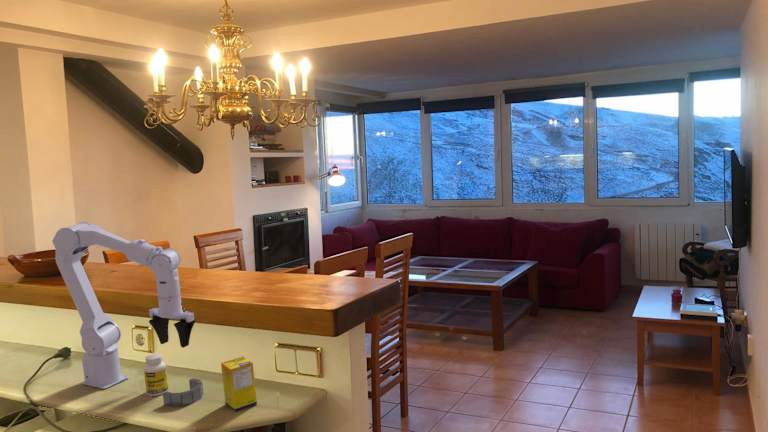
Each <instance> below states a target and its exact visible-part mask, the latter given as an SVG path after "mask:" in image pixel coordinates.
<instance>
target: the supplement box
mask: <svg viewBox="0 0 768 432" xmlns="http://www.w3.org/2000/svg"><path fill="white" fill-rule="evenodd" d="M220 366H221V377H222V383H223V384H222V385H223V386H222V387H223V394H224V402H225V406H227V407H228V408H229V409H231V410H232V411H233V412H234V413H236V412H239V411H242V410H244V409H247V408H250V407H253V406H256V405H257V404H258V403H257V402H258V399H257V392H256V390H257V389H256V381H255V373H254V371H255V370H254V363H253V362H252V361H251V360H249V359H248V358H246V357H245V356H240V357H236V358H233V359H230V360H225V361H222V362H220Z"/></svg>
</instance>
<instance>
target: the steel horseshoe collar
mask: <svg viewBox="0 0 768 432" xmlns="http://www.w3.org/2000/svg"><path fill="white" fill-rule="evenodd" d="M188 382H189V383H188V384H189V390H185V391H182V392H169V391H167V392H165V393H163V394H162V399H163V405H164V406H166V407H167V406H168V407H170V408H173V407H184V406H188V405H191V404H195V402H198V401H199V400H201V399H202V398H203V396H204V384H203V382H202V380H201V379H200V378H199V379H198V378H193V377H191V378H190V379H189V380H188Z"/></svg>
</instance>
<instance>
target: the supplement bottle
mask: <svg viewBox="0 0 768 432" xmlns="http://www.w3.org/2000/svg"><path fill="white" fill-rule="evenodd" d="M145 363H146V364H145V366H144V367H143V372H144V374H143V375H144V381H145V390H146V394H147V395H148V396H150V397H156V396H163V393H165V392H169V381H168V372H167V364H166V363H165V362H164V361H163V355H162V354H161V353H152V354H149V355H147V356H146V357H145Z"/></svg>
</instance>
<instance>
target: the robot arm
mask: <svg viewBox="0 0 768 432" xmlns="http://www.w3.org/2000/svg"><path fill="white" fill-rule="evenodd" d="M51 242H52V244H53V246H54V248H55V252H54V253H55V263H56V265H57V268H58V270H59V272H60V275H61V277H62V280H63V281H64V284H65V286H66V288H67V290H68V293H69V294H70V297H71V299H72V301H73V303H74V305H75V308H76V309H77V310H76V311H77V312H78V314H79V317H80V319H81V321H82V324H81V326H80V329H79V334H80V337H81V347H82V349H83V351H84V354H83V357H82V370H83V375H84V376H83V377H84V381H82V383H81V384H82V385H86V386H89V387H94V388H98V389H102V390H105V389H108V388H110V387H113V386H115V385H116V384H119V383H121V382H123V381H125V380H128V379H129V377H130V376H129V375H124V374H122V371H121V363H120V356H119V355H120V354H119V348H118V346H119V341H120V339H121V337H122V331H121V328H120V327H119V325H117V324H116V323H115V322H114V321H113V320H114V319H113V318H112V316H111V315H108V314H106V313H104V311H103V309H102V307H101V304H100V303H99V301H98V298H97V295H96V293H95V291H94V289H93V287H92V284H91V282H90V280H89V278H88V276H87V272H86V271H85V268H84V267H83V265H82V262H81V259H82V257H83V256H84V254H85V251H87V249H88V248H89V247H90V246H94V245H97V246H100V247H103V248H107V249H110V250H112V251H116V252H118V253H119V252H120V253H123V254H124V255H125V257H126V259H127V260H128V261H132V263H133V262H134V263H136V264H139V265H141V266H144V267H146V268H149V270H151V272H152V273H153V274H154V277H155V283H156V285H155V286H156V291H157V301H158V307H154V308H153V307H152V308H151V309H148V314H149V317H150V318H151V319H149V320H148V324H150V326H152V328H153V330H154V332H155V333H156V335H157V337H158V341H159V343H160V345H164V344H166V343H168V342H169V323H170V319H171V320H178V321H177V322H175V323H173V326H174V327H175V329H176V331H177V335H178V340H179V345H180V347H181V348H186V347H187V346H189V345H190V338H191V334H192V330H193V327H194V326H195V323H196V319H195V313H194V312H190V311H189V310H186V311H185V312H183V310H182V307H183V306H182V305H183V304H182V305H181V303H182V296H181V295H182V294H181V285H180V277H179V269H178V267H179V266H180V264H181V261H182V260H181V255H180V254H179V252H177V251H176V250H174V249H173V248H171V247H169V248H166V249H163V247H162V246H160V245H159V246H156V245H153V244H151V243H147V242H146V240H145V239H143V238H141V239H135V240H134V239H133V240H132V241H130V240H128V239H125V238H123V237H120V236H118V235H116V234H114V233H112V232H110V231H108V230H105V229H103V228H101V227H100V226H99V225H96V224H92V223H90V222H87V221H82V222H79V223H78V224H77V223H76V224H73V225H71V226H66V227H61V228H59V229H58V230H57V231H56V232H55V234H54V237H53V239H52V241H51ZM167 318H169V319H167ZM194 319H195V320H194Z"/></svg>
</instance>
